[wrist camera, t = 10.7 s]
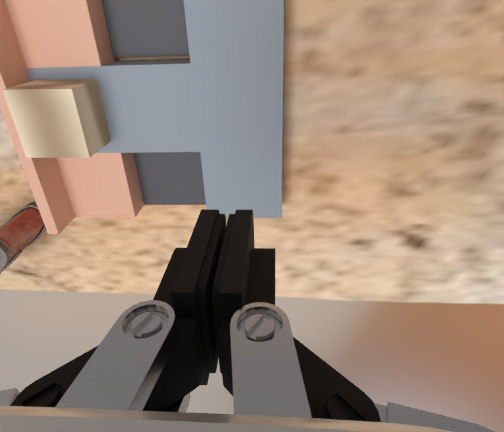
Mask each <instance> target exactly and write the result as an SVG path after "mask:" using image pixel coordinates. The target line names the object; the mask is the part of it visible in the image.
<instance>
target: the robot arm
mask: <svg viewBox="0 0 504 432" xmlns="http://www.w3.org/2000/svg"><path fill="white" fill-rule="evenodd" d="M218 357H219V364H220V372H221V373H222V376H223V385H224V387H225V388H226V389H227V390H228V391H229V392H230V393H231V395H232V396H233V399H234V415H231V414H209V413H186V410H187V407H188V405H189V401H190V392H191V391H193V390H194V389H195V388H197V387H198V386H199V385H207V383H208V378H209V373H216V369H217V363H218ZM0 432H494V431H492V430H491V429H488V428H486V427H483V426H481V425H478V424H475V423H471V422H467V421H463V420H459V419H455V418H451V417H447V416H443V415H439V414H435V413H431V412H427V411H423V410H419V409H415V408H411V407H407V406H403V405H399V404H395V403H391V402H388V404H387V406H384V405H380V404H376V403H373V401H372V400H371V399H370V398H369V397H368V396H367V395H366V394H365V393H364V392H363V391H362V390H360V389H359V388H358V387H356V386H355V385H354V384H353V383H351V382H350V381H349V380H347V379H346V378H345V377H344V376H342V375H341V374H340V373H339V372H337V371H336V370H335V369H333V368H332V367H331V366H330V365H328V364H327V363H326V362H325V361H323V360H322V359H321V358H319V357H318V356H317V355H316V354H314V353H313V352H312V351H310V350H309V349H308V348H307V347H305V346H304V345H303V344H302V343H300V342H299V341H298V340H296V339H295V338H294V337H293V336H292V331H291V328H290V323H289V320H288V317H287V315H286V314H285V313H284V311H283V310H281V309H280V308H279V307H277V306H275V249H264V248H254V225H253V210H236V211H235V214H229V218H228V222H227V226H226V217H225V214H220V213H219V210H201V212H200V215H199V217H198V220H197V222H196V225H195V228H194V230H193V233H192V236H191V238H190V241H189V244H188V246H187V248H176V249H175V250H174V252H173V255H172V257H171V259H170V262H169V264H168V266H167V269H166V271H165V273H164V276H163V278H162V280H161V283H160V285H159V287H158V290H157V292H156V294H155V297H154V299H153V300H150V301H144V302H140V303H138V304H135V305H133V306H131V307H130V308H128V309H127V310H125V311H124V313H123V314H122V315H121V316H120V317H119V318H118V320H117V321H116V322H115V324H114V325H113V327H112V328H111V329H110V331H109V332H108V334H107V335H106V337H105V338H104V339H103V341H102V342H101V344H100V345H99V346H97V347H95V348H93V349H92V350H90V351H88V352H86V353H84V354H83V355H81V356H79V357H77V358H75V359H74V360H72V361H70V362H69V363H67V364H65V365H63V366H61V367H59V368H58V369H56V370H54V371H52V372H51V373H49V374H47V375H45V376H43V377H42V378H40V379H38V380H36V381H35V382H33V383H32V384H30V385H29V386H27V387H26V388H25V389H24V390H23V391H22V392H18V390H17V389H16V388H14V389H8V390H3V391H0Z"/></svg>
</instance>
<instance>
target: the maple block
mask: <svg viewBox="0 0 504 432" xmlns="http://www.w3.org/2000/svg"><path fill="white" fill-rule="evenodd" d="M3 93H4V96H5V99H6V102H7V104H8V107H9V110H10V113H11V116H12V118H13V121H14V124H15V127H16V130H17V132H18V135H19V138H20V141H21V144H22V146H23V149H24V152H25V155H26V158H90V157H91V156H93V155H94V154H95V153H96V152H98V151H99V150H100V149H101V148H103V147H104V146H105V145H106V144H108V143H109V142H110V141H111V139H110V135H109V130H108V126H107V121H106V117H105V113H104V108H103V104H102V99H101V95H100V90H99V86H98V82H97V79H64V80H34V81H30V82H27V83H23V84H20V85H17V86H13V87H10V88H6V89H3Z"/></svg>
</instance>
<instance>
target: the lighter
mask: <svg viewBox="0 0 504 432" xmlns="http://www.w3.org/2000/svg"><path fill="white" fill-rule="evenodd" d="M45 229H46V227H45V225H44V222H43V219H42V217H41V214H40V211H39V209H38V206H37V204H36V202H32V203H30V204H28V205H27V206H25V207H23V208H22V209H20V210H19V211H18V212H16V213H15V214H14V215H13V216H12V217H11V218H10V219H8V220H7V222H6V223H5V224H4V225H3V226H2V227H1V228H0V274H1V272H2V271H3V270H5V269H6V268H7V267H8V266H9V265H10V264H11V263H12V262H13V261H14V260H16V258H17V257H18V256H19V255H20V254H21V252H22V251H23V250H24V249H25V248H27V247H28V246H29V245H31V244H32V243H33V242H34V241H35V240H37V239H38V238H39V237H40V235H41V234H42V233H43V232H44V231H45Z"/></svg>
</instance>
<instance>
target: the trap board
mask: <svg viewBox="0 0 504 432" xmlns="http://www.w3.org/2000/svg"><path fill="white" fill-rule="evenodd" d="M283 41H284V0H0V108H1V111H2V114H3V116H4V119H5V122H6V124H7V127H8V130H9V132H10V135H11V138H12V140H13V143H14V145H15V148H16V151H17V153H18V156H19V159H20V161H21V164H22V167H23V169H24V172H25V175H26V177H27V180H28V182H29V185H30V188H31V190H32V193H33V196H34V198H35V201H36V204H37V206H38V209H39V211H40V214H41V217H42V219H43V222H44V225H45V227H46V230H47V233H48V234H59V233H60V232H61V231H62V230H63V229H64V228H65V227H66V226H67V225H68V224H69V223H70V222H71V221H72V220H73V219H74V218H75V217H136V216H137V214H138V213H139V211H140V210H141V208H142V207H143V205H206V209H207V210H219V213H220V214H225V217H226V218H229V214H235V211H236V210H253V218H282V138H283ZM158 56H190V59H173V60H138V61H116V58H124V57H158ZM64 79H97V82H98V86H99V90H100V95H101V99H102V104H103V108H104V113H105V117H106V121H107V126H108V130H109V135H110V139H111V141H110V142H109V143H108V144H106V145H105V146H104V147H103V148H101V149H100V150H99V151H98V152H96V153H95V154H94V155H93V156H91V157H90V158H26V155H25V152H24V149H23V146H22V144H21V141H20V138H19V135H18V132H17V130H16V127H15V124H14V121H13V118H12V116H11V113H10V110H9V107H8V104H7V102H6V99H5V96H4V93H3V89H6V88H10V87H13V86H17V85H20V84H23V83H27V82H30V81H34V80H64Z"/></svg>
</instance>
